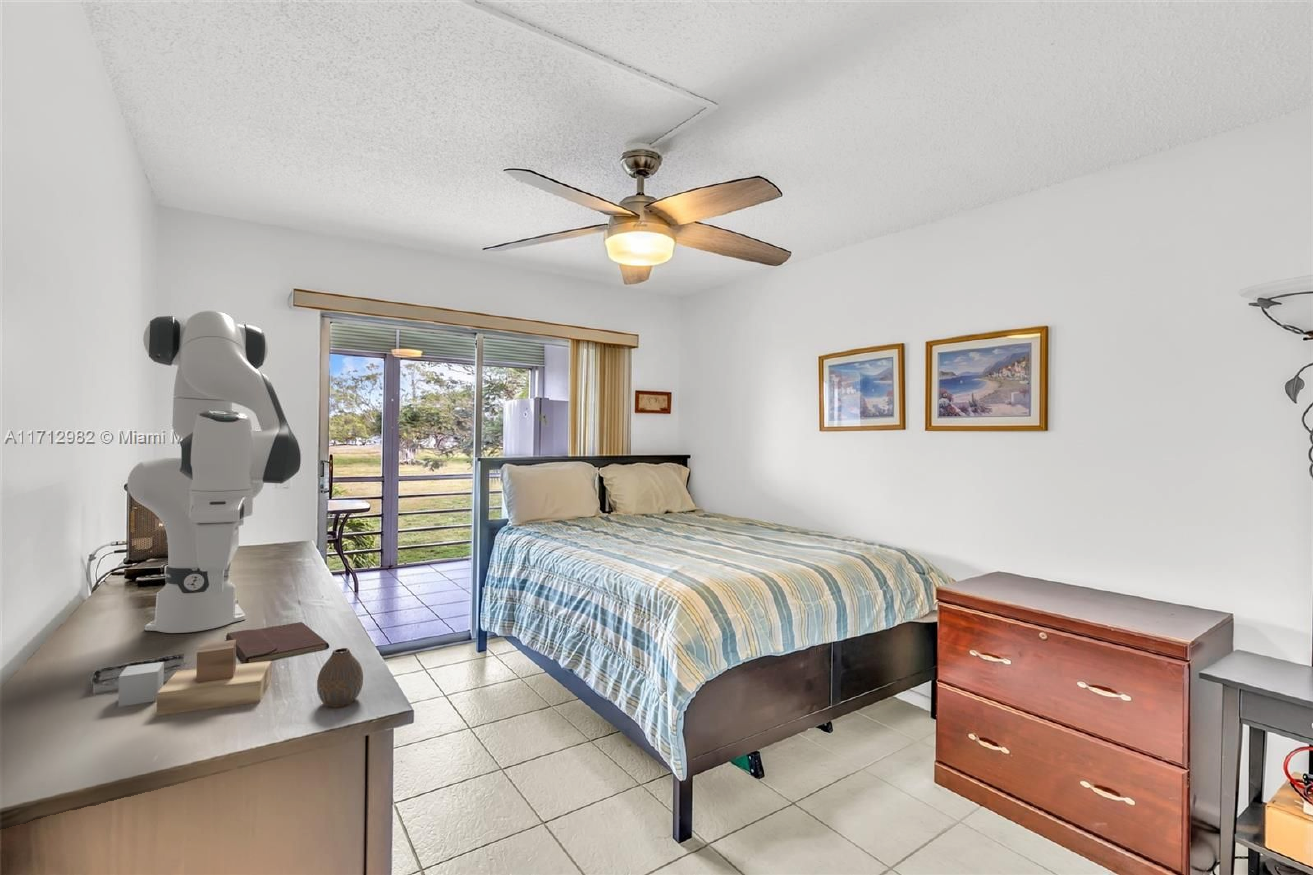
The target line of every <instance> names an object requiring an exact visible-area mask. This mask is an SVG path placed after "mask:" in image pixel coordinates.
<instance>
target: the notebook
mask: <svg viewBox="0 0 1313 875" xmlns="http://www.w3.org/2000/svg"><path fill="white" fill-rule="evenodd" d="M229 640H236V655H237V656H238V657H239V658H240V659H241V661H242V663H243V664H246V663H255V662H265V661H271V660H275V659H279V658H285V657H289V656H294V655H295V656H296V655H300V654H304V653H310V652H315V651H318V650H324V649H329V648H330V644H329V642H327V641H326V640H325V639H323V638H322V636H320V635H318V633H316V632H315V631H314V630H312V629H311V628H310V627H308V625H307V624H305V623H304V622H302V621H298V622H294V623H287V624H281V625H274V626H268V627H263V628H257V629H244V630H238V631H231V632H228V633H226V635H225V641H229Z"/></svg>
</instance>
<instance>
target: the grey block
mask: <svg viewBox="0 0 1313 875" xmlns="http://www.w3.org/2000/svg"><path fill="white" fill-rule="evenodd" d="M164 672H165V668H164V662H158V663H150V664H142V665H134V666H127V667H126V668H125V669H124V671H123V672H122V673H121V675H120V676H119V677H118V678H119V690H118V703H117V706H118V708H119V707H126V705H127V706H133V705H139V704H140V705H141V704H145V703H151V702H152V701H153V702H157V692H158V691H159V690H160V689H161V688H162V687H163V686H164V683H165V682H164Z"/></svg>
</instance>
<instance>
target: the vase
mask: <svg viewBox="0 0 1313 875" xmlns="http://www.w3.org/2000/svg"><path fill="white" fill-rule="evenodd" d="M363 672H364V670H363V669H362V665H361V663H360V662H359V661H358V659H356V657H355V656H354V655H353V654H352V653H351V651H350V649H349V648H348V647H338V648H336V649H334V650H333V651H332V652H331V655H330V656H329V658H328V659H327V660H326V662H325V663H324V664H323V666H322V667H321V669H320V671H319V673H318V676H317V680H316V690H317V694H318V698H319V700H320V701H321V703H323V704H324V705H325V706H327V707H328V708H329V707H330V708H341V707H346V706H348V705H351V704H352V703H353V702H354V701H355V700H356V699H357V698H358V696H359V695H360V693H361V692H362V691H361V690H362V689H363V688H362V687H363V684H364V673H363Z"/></svg>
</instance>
